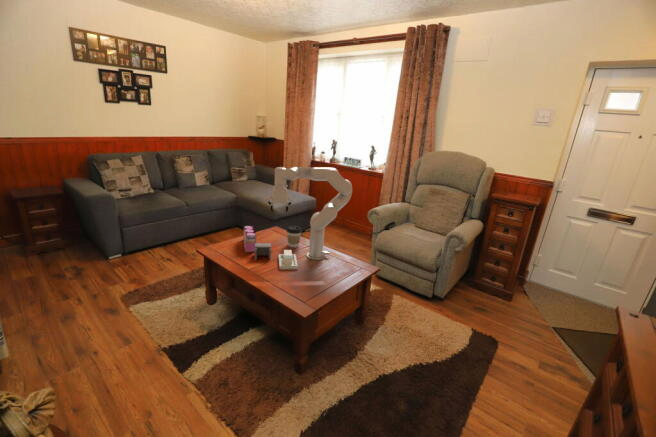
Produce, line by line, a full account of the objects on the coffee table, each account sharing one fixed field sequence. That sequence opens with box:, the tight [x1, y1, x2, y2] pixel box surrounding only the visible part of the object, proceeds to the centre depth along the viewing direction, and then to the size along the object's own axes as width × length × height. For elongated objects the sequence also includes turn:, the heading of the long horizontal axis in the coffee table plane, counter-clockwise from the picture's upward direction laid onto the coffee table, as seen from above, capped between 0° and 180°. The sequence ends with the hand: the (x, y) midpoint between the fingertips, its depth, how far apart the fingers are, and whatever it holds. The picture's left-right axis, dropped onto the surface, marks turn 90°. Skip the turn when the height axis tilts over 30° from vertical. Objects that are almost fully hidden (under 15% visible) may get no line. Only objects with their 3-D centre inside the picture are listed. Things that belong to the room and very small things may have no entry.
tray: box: [278, 253, 299, 271], centre depth 205 cm, size 11×18×2 cm, turn 11°
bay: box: [254, 242, 272, 261], centre depth 210 cm, size 10×9×8 cm
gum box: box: [243, 225, 257, 253], centre depth 226 cm, size 22×7×13 cm, turn 19°
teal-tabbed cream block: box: [283, 249, 293, 265], centre depth 204 cm, size 5×13×6 cm, turn 9°
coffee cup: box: [286, 225, 303, 249], centre depth 231 cm, size 11×11×15 cm
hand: (279, 211), depth 211 cm, fingers open, 9 cm apart
